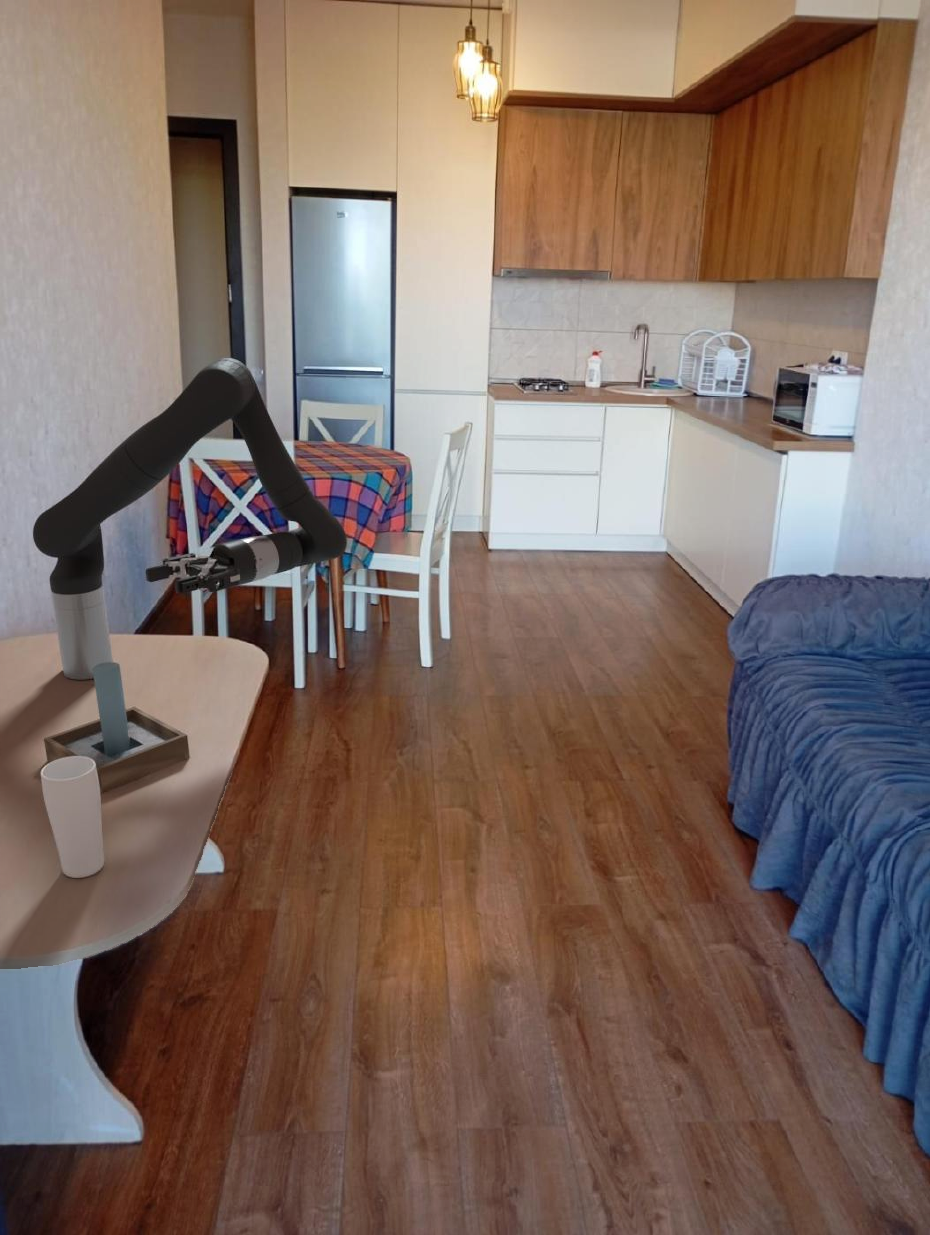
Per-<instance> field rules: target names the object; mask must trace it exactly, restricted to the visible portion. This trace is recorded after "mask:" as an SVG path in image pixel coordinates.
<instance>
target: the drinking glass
mask: <svg viewBox="0 0 930 1235" xmlns="http://www.w3.org/2000/svg"><path fill="white" fill-rule="evenodd" d="M40 781H41V783H40V784H41V789H42V796H43V800H44V804H45V809H46V813H47V816H48V820H49V823H50V827H51V830H52V833H53V834H52V835H53V837H54V841H55V845H56V849H57V854H58V857H59V861H60V865H61V866H60V868H61V870H62V873H63V874H64V875H65V876H67V877H69V878H73V879H83V878H86V877H87V878H88V877H90V876H93V875H94V874H97V873H98V872H99V871H101V869H103V867H104V865H105V854H104V853H105V852H104V844H103V842H104V841H103V840H104V839H103V824H102V820H103V819H102V801H101V794H100V785H99V778H98V773H97V768H96V763H95V761H94V760H92V759H91V758H88V757H84V756H71V757H65V758H61V759H57V760H55V761H52V762H48V763H47V764H46V765H45V766H44V767H42V769H41V770H40Z"/></svg>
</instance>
